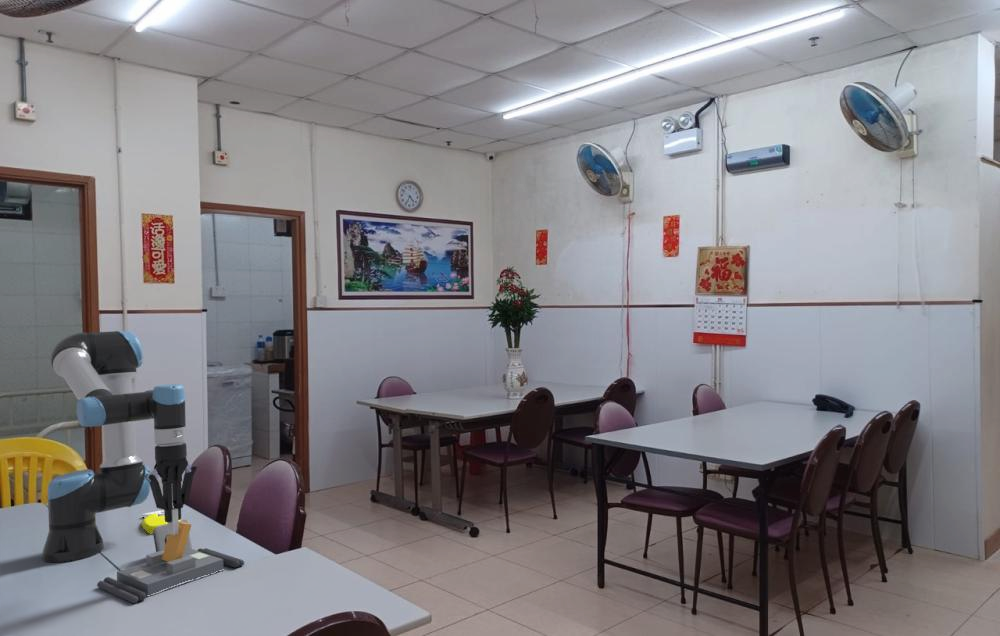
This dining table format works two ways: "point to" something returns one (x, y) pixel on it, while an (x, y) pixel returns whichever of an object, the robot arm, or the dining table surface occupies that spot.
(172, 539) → the lever
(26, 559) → the dining table surface
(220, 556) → the cable bundle
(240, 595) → the dining table surface
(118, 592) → the cable bundle
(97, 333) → the robot arm
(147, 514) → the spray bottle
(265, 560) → the dining table surface
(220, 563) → the breaker panel
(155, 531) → the electrical switch
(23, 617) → the dining table surface
